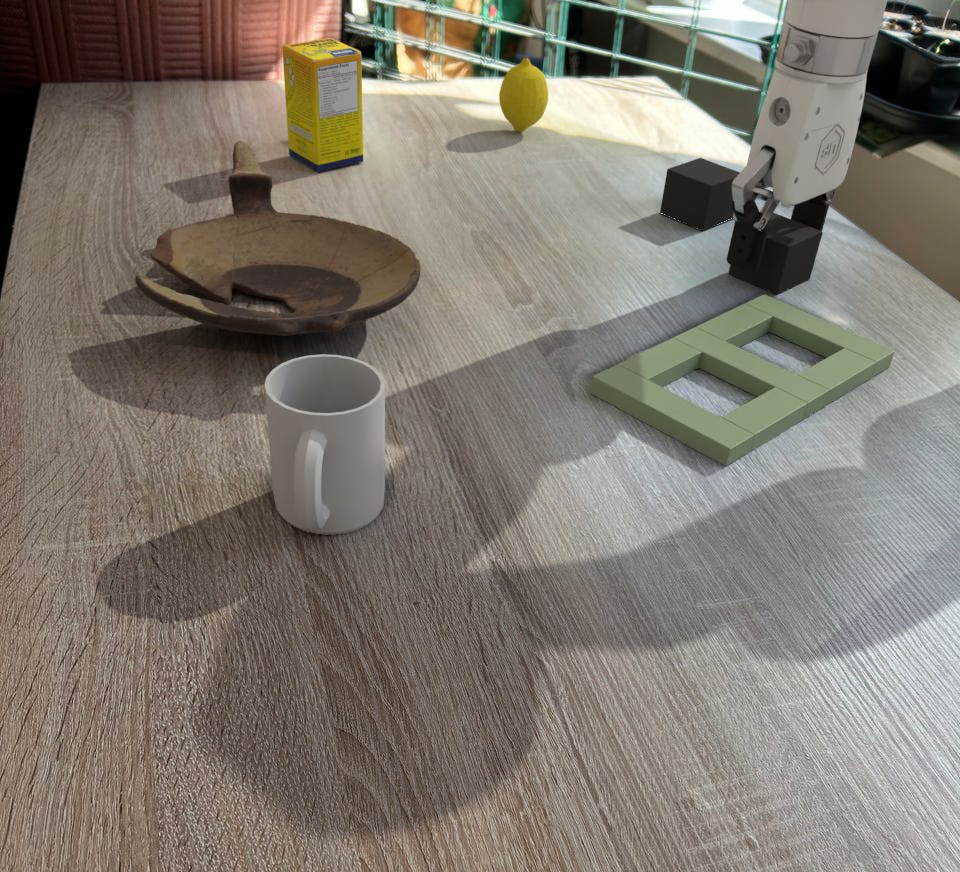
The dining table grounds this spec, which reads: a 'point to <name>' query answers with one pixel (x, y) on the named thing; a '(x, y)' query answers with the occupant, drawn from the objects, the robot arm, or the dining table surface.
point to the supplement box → (323, 103)
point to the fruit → (523, 95)
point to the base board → (741, 377)
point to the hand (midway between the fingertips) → (772, 254)
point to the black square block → (699, 193)
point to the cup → (327, 442)
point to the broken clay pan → (280, 264)
